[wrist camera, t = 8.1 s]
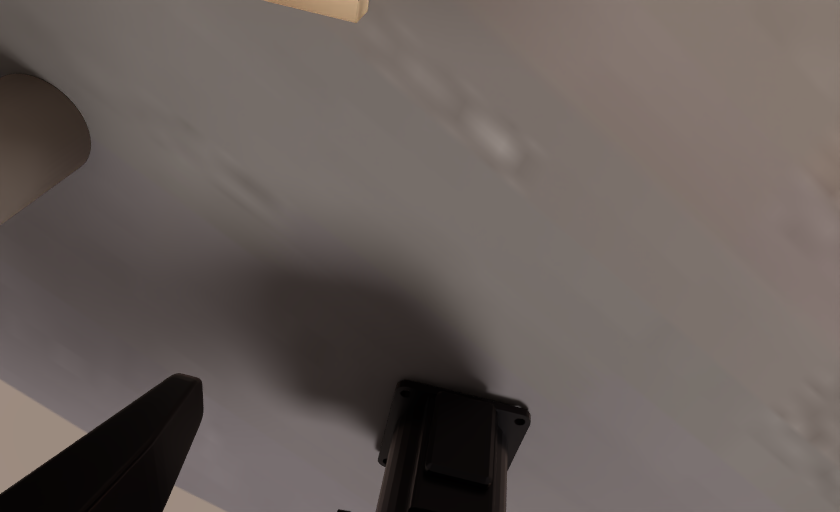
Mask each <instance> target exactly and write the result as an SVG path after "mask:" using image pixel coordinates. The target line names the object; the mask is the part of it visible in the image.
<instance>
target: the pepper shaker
mask: <svg viewBox="0 0 840 512" xmlns="http://www.w3.org/2000/svg"><path fill="white" fill-rule="evenodd" d="M90 149H91V140H90V134H89V130H88V128H87V125H86V123H85V121H84V119H83V117H82V115H81V114H80V112H79V111H78V109H77V108H76V107H75V105H74V104H73V103H72V102H71V101H70V100H69V99H68V98H67V97H66V96H65V95H64V94H63V93H62V92H61V91H59V90H58V89H57V88H55V87H54V86H52V85H51V84H49V83H47V82H45V81H44V80H41V79H39V78H37V77H34V76H30V75H26V74H9V75H5V76H3V77H0V225H1V224H3V223H4V222H6V221H7V220H8V219H10V218H11V217H12V216H14V215H15V214H17V213H18V212H19V211H21V210H22V209H23V208H25V207H26V206H28V205H29V204H30V203H32V202H33V201H34V200H36V199H37V198H39V197H40V196H41V195H43V194H44V193H45V192H47V191H48V190H50V189H51V188H52V187H54V186H55V185H56V184H58V183H59V182H61V181H62V180H63V179H65V178H66V177H67V176H69V175H70V174H71V173H73V172H74V171H76V170H77V169H78V168H80V167H81V166H82V165H83V164H84V163H85V162H86V160H87V159H88V157H89V154H90Z"/></svg>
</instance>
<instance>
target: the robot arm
mask: <svg viewBox="0 0 840 512" xmlns="http://www.w3.org/2000/svg"><path fill="white" fill-rule="evenodd" d="M405 390H407V391H405ZM202 416H203V388H202V381H201V380H200V379H199V378H197V377H193V376H189V375H185V374H181V373H177V374H174V375H172V376H170V377H169V378H167V379H166V380H164V381H163V382H161V383H160V384H158V385H157V386H156V387H154V388H153V389H151V390H150V391H148V392H147V393H145V394H144V395H143V396H141V397H140V398H138V399H137V400H135V401H134V402H132V403H131V404H130V405H128V406H127V407H125V408H124V409H122V410H121V411H119V412H118V413H116V414H115V415H114V416H112V417H111V418H109V419H108V420H106V421H105V422H103V423H102V424H101V425H99V426H98V427H96V428H95V429H93V430H92V431H90V432H89V433H88V434H87V435H85V436H83V437H82V438H80V439H79V440H77V441H76V442H75V443H73V444H72V445H70V446H69V447H67V448H66V449H65V450H63V451H62V452H60V453H59V454H57V455H56V456H54V457H53V458H51V459H50V460H49V461H47V462H46V463H44V464H43V465H41V466H40V467H38V468H37V469H36V470H34V471H33V472H31V473H30V474H28V475H27V476H25V477H24V478H23V479H21V480H20V481H18V482H17V483H15V484H14V485H12V486H11V487H10V488H8V489H7V490H5V491H4V492H2V493H1V494H0V512H163V510H164V507H165V505H166V503H167V501H168V498H169V496H170V494H171V491H172V489H173V487H174V484H175V482H176V480H177V477H178V475H179V473H180V470H181V468H182V466H183V463H184V461H185V459H186V456H187V454H188V451H189V449H190V447H191V444H192V442H193V440H194V437H195V435H196V433H197V430H198V428H199V426H200V423H201V420H202ZM518 418H522V419H518ZM530 422H531V416H530V413H529V412H528V411H527V410H526V409H523V408H519V407H515V406H511V405H507V404H503V403H499V402H495V401H491V400H486V399H482V398H478V397H474V396H470V395H466V394H462V393H458V392H454V391H450V390H446V389H442V388H438V387H433V386H429V385H425V384H421V383H417V382H413V381H409V380H402V381H400V382H398V384H397V386H396V390H395V394H394V398H393V402H392V406H391V410H390V414H389V418H388V421H387V425H386V429H385V433H384V437H383V441H382V445H381V449H380V453H379V457H378V462H379V464H381V465H382V466H384V467H386V468H385V472H384V477H383V481H382V486H381V490H380V495H379V499H378V504H377V508H376V512H506V492H507V471H508V469H509V467H510V465H511V462H512V460H513V458H514V456H515V454H516V452H517V450H518V448H519V446H520V444H521V442H522V440H523V438H524V436H525V434H526V432H527V430H528V428H529V426H530ZM337 512H351V511H345V510H340V509H338V511H337Z"/></svg>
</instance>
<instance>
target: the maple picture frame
mask: <svg viewBox="0 0 840 512" xmlns="http://www.w3.org/2000/svg"><path fill="white" fill-rule="evenodd" d="M264 1H268V2H272V3H276V4H280V5H284V6H289V7H293V8H297V9H301V10H305V11H309V12H313V13H317V14H322V15H326V16H330V17H334V18H338V19H342V20H346V21H350V22H354V23H357V22H358V21H359V20H360V19H361V18H362V16H363V15H364V14H365V13H366V12H367V11H368V4H369V0H264Z"/></svg>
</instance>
